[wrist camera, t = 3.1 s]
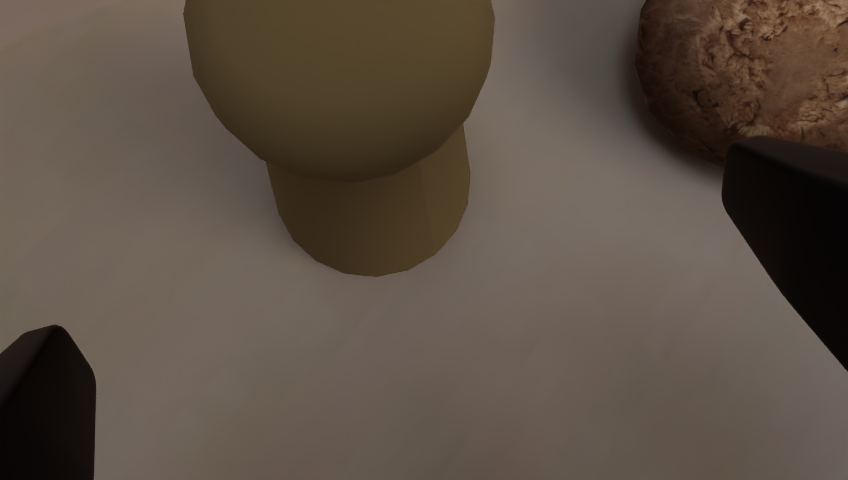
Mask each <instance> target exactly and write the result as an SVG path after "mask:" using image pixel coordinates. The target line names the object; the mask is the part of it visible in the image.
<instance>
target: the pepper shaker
mask: <svg viewBox="0 0 848 480" xmlns="http://www.w3.org/2000/svg"><path fill="white" fill-rule="evenodd" d="M183 15H184V21H185V27H186V33H187V39H188V45H189V51H190V57H191V63H192V69H193V76H194V77H195V79H196V81H197V83H198V85H199V86H200V88H201V90H202V92H203V94H204V95H205V97H206V99H207V101H208V103H209V104H210V106H211V108H212V110H213V112H214V113H215V115H216V117H217V118H218V119H219V120H220V122H221V123H222V124H223V125H224V126H225V128H226V129H227V130H229V131H230V132H231V133H232V134H233V135H234V136H235V137H236V138H238V139H239V140H240V141H241V142H242V143H243V144H244V145H245V146H246V147H248V148H249V149H250V150H251V151H252V152H253V153H254V154H255V155H257V156H258V157H259V158H260V159H262V160H264V161H266V165H267V169H268V173H269V176H270V180H271V184H272V188H273V192H274V196H275V200H276V204H277V208H278V212H279V215H280V216H281V218H282V220H283V222H284V224H285V225H286V227H287V229H288V231H289V233H290V234H291V236H292V238H293V240H294V241H295V242H296V243H297V244H299V245H300V246H301V247H302V248H303V249H304V250H305V251H306V252H307V253H309V254H310V255H311V256H312V257H313V258H314V259H315V260H316V261H318V262H321V263H323V264H325V265H327V266H330V267H332V268H334V269H336V270H339V271H341V272H343V273H346V274H356V275H366V276H376V277H377V276H382V275H387V274H391V273H396V272H401V271H405V270H409V269H410V268H412V267H414V266H415V265H417V264H419V263H421V262H422V261H424V260H426V259H428V258H429V257H431V256H433V255H435V254H436V253H437V251H438V250H439V249H440V248H441V247H442V246H443V245H444V244H445V243H446V241H447V240H448V239H449V238H450V237H451V236H452V235H453V234H454V233H455V231H456V229H457V227H458V225H459V222H460V220H461V218H462V215H463V213H464V211H465V209H466V206H467V204H468V194H469V183H470V169H469V162H468V155H467V149H466V142H465V135H464V128H463V122H464V121H465V120H466V119H467V118H468V117H469V115H470V113H471V110H472V108H473V106H474V104H475V101H476V99H477V97H478V95H479V93H480V90H481V88H482V86H483V84H484V82H485V79H486V77H487V74H488V70H489V67H490V64H491V56H492V44H493V33H494V22H495V17H494V12H493V8H492V4H491V0H186V2H185V8H184V13H183Z"/></svg>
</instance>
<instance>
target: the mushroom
mask: <svg viewBox="0 0 848 480" xmlns="http://www.w3.org/2000/svg"><path fill="white" fill-rule="evenodd" d="M634 64H635V68H636V71H637V74H638V78H639V81H640V85H641V88H642V91H643V95H644V98H645V101H646V105H647V108H648V111H649V112H650V113H651V114H652V115H653V116H654V117H655V118H656V119H657V120H658V121H659V122H660V123H661V124H662V126H663V127H664V128H665V129H666V130H667V131H668V132H669V133H670V134H671V135H672V136H673V137H674V138H675V139H676V140H677V141H678V142H679V143H680V144H681V145H682V146H683V147H684V148H685V149H687V150H689V151H691V152H693V153H695V154H697V155H699V156H701V157H703V158H705V159H706V160H708V161H710V162H712V163H714V164H716V165H718V166H720V167H722V168H724V162H725V154H726V150H727V148H728V146H729V145H730V144H731V143H732V142H734V141H738V140H741V139H745V138H749V137H752V136H757V135H764V136H769V137H774V138H779V139H784V140H790V141H795V142H800V143H805V144H810V145H815V146H821V147H826V148H831V149H836V150H841V151H846V152H848V0H646V1H645V3H644V5H643V7H642V9H641V13H640V21H639V30H638V38H637V46H636V54H635V62H634Z"/></svg>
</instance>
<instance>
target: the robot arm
mask: <svg viewBox="0 0 848 480" xmlns="http://www.w3.org/2000/svg"><path fill="white" fill-rule="evenodd" d="M722 202H723V205H724V208H725V210H726V212H727V214H728V215H729V217H730V218H731V220H732V221H733V223H734V224H735V226H736V227H737V229H738V230H739V231H740V233H741V234H742V236H743V237H744V239H745V240H746V242H747V243H748V245H749V246H750V248H751V249H752V251H753V252H754V254H755V255H756V257H757V258H758V260H759V261H760V263H761V264H762V266H763V267H764V269H765V270H766V272H767V273H768V275H769V276H770V278H771V279H772V281H773V282H774V283H775V285H776V286H777V287H778V289H779V290H780V292H781V293H782V294H783V296H784V297H785V298H786V299H787V301H788V302H789V303H790V304H791V306H792V307H793V308H794V309H795V310H796V312H797V313H798V314H799V315H800V316H801V317H802V319H803V320H804V321H805V322H806V323H807V324H808V326H809V327H810V328H811V329H812V330H813V332H814V333H815V334H816V335H817V336H818V337H819V339H820V340H821V341H822V342H823V343H824V344H825V346H826V347H827V348H828V349H829V350H830V352H831V353H832V354H833V355H834V356H835V357H836V359H837V360H838V361H839V362H840V363H841V364H842V366H843V367H844V368H845V369H846V370H847V371H848V152H846V151H841V150H836V149H831V148H826V147H821V146H815V145H810V144H805V143H800V142H795V141H790V140H784V139H779V138H774V137H769V136H764V135H757V136H752V137H749V138H745V139H741V140H738V141H734V142H732V143H731V144H730V145H729V146H728V148H727V150H726V154H725V162H724V173H723V184H722ZM95 414H96V380H95V376H94V373H93V370H92V368H91V367H90V365H89V364H88V362H87V361H86V359H85V357H84V356H83V354H82V353H81V351H80V350H79V348H78V347H77V345H76V344H75V342H74V341H73V339H72V338H71V336H70V335H69V333H68V332H67V331H66V330H65V329H64V328H63V327H62V326H58V325H51V326H47V327H43V328H39V329H36V330H32V331H28V332H26V333H24V334H22V335H21V336H20V337H19V338H18V339H17V340H15V341H14V342H13V343H12V344H11V345H10V346H9V347H8V348H7V349H5V350H4V351H3V352H2V353H1V354H0V480H94V454H95Z"/></svg>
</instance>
